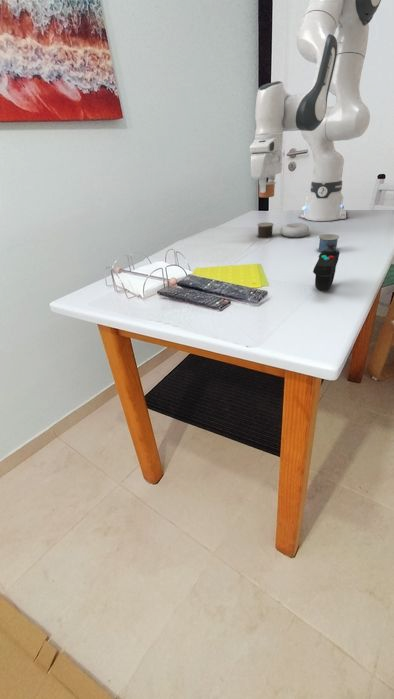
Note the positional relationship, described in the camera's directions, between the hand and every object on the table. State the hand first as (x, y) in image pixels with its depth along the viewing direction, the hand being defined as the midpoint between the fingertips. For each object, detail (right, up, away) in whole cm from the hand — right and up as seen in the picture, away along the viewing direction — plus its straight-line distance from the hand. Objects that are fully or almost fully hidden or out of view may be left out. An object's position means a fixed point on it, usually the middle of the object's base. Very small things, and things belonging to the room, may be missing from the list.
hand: (266, 191), depth 117 cm
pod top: (+17, -24, -12) cm, 31 cm away
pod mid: (0, -1, +1) cm, 2 cm away
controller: (+6, -41, -37) cm, 56 cm away
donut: (+12, -13, +7) cm, 19 cm away
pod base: (+1, -13, +9) cm, 16 cm away
